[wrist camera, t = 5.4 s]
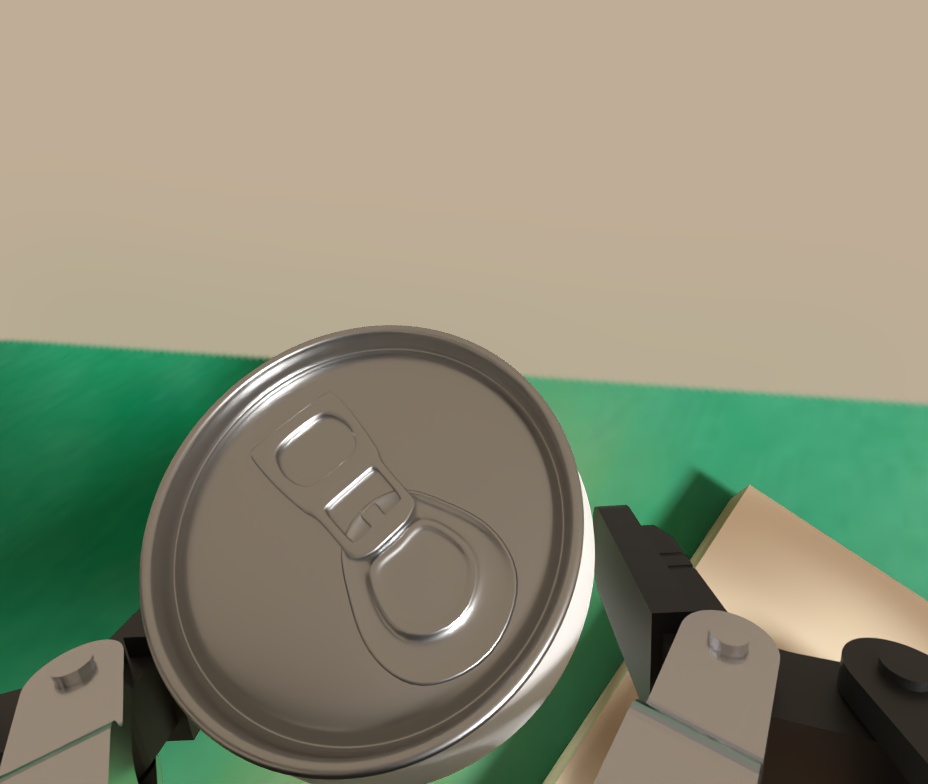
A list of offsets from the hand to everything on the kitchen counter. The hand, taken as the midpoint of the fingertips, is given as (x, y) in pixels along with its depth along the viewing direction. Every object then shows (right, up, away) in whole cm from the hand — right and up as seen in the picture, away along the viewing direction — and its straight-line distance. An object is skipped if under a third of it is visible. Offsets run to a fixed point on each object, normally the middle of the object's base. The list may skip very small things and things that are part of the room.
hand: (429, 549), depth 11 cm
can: (0, -4, +5) cm, 6 cm away
